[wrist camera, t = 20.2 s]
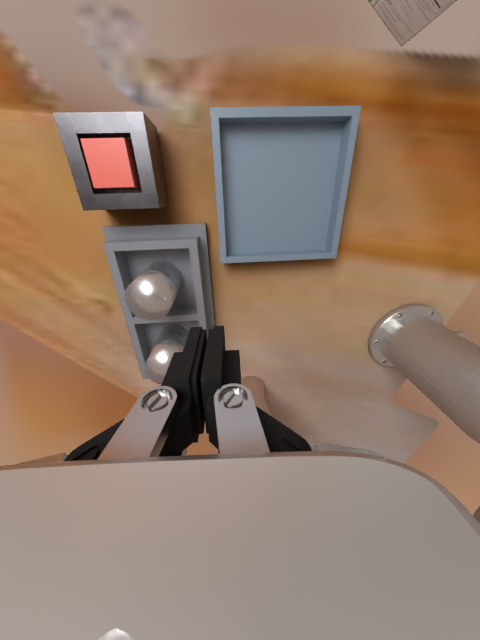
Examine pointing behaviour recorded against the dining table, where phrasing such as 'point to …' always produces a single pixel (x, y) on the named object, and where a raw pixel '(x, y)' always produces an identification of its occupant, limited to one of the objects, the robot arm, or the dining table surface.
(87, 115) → the box
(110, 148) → the button
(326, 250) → the tray
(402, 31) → the syrup box
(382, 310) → the dining table surface
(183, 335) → the seated billet
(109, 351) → the dining table surface
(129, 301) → the billet
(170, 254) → the grey divided tray
